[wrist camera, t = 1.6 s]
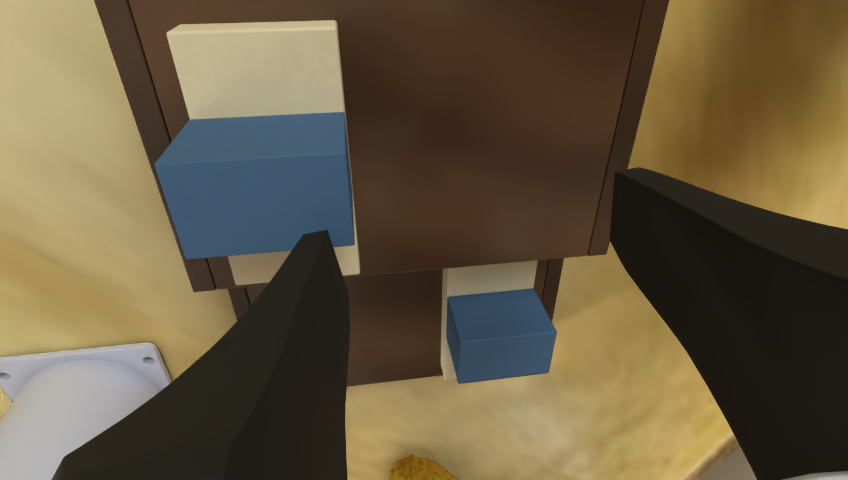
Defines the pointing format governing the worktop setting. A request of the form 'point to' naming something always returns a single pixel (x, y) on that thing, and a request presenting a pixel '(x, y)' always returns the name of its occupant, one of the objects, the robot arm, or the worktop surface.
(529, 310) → the blocky toy chair
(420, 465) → the food
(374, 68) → the brown block holder
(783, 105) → the worktop surface
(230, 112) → the cream and blue block
